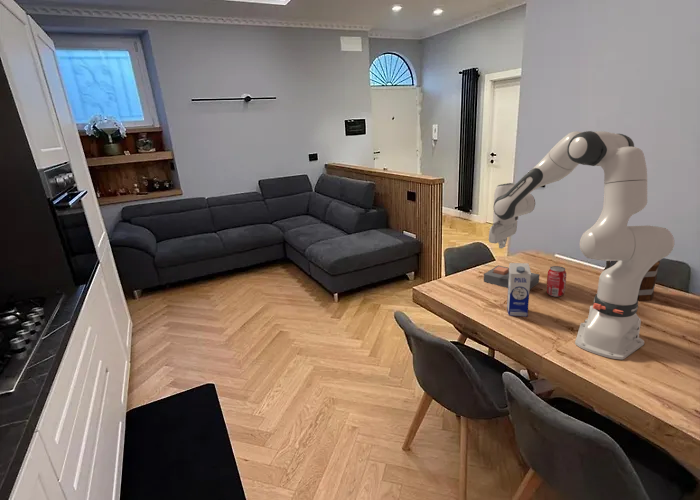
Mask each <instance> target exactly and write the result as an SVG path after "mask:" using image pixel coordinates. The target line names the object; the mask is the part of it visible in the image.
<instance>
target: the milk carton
mask: <svg viewBox="0 0 700 500" xmlns="http://www.w3.org/2000/svg"><path fill="white" fill-rule="evenodd" d="M508 265H509V266H508V268H509V281H508V288H507V300H506V310H507V313H508V316H509V317H525V318H527V317H528V315H529V314H528V312H529V302H530V301H529V300H530V290H531V289H530V277H531V273H532V271H531V267H530V265H529V263H525V262H524V263H522V262H509V264H508Z"/></svg>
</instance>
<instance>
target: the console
mask: <svg viewBox="0 0 700 500" xmlns="http://www.w3.org/2000/svg"><path fill="white" fill-rule="evenodd" d="M498 266H500V267H504V268H508V269H509V266H507V267H506V266H504V265H496V266H495V267H492V268H491V269H489V270H488V271H487V272H484V273H483V283H487V284H491V285H495V286H498V287H499V286H500V287H502V288H506V289H508V281H509V272H508V273H507V274H505V275H501V274H497V273H494V269H495V268H497V267H498ZM540 276H541V275H540V273H539V274H537V273H534V272H531V277H530V290H531V289H533V288H534V287H535V286H537V285H538V284H539V283H540Z"/></svg>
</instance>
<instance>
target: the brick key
mask: <svg viewBox="0 0 700 500" xmlns="http://www.w3.org/2000/svg"><path fill="white" fill-rule="evenodd" d="M497 266H498V265H497ZM500 266H501V265H499V266H498V267H497V268H495V267H494V268H495V269H494V273H497V274H501V275H505V274H507V273H508V272H509V269H508V268H509V267H508V268H504V267H505V266H503V267H500Z"/></svg>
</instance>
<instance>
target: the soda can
mask: <svg viewBox="0 0 700 500" xmlns="http://www.w3.org/2000/svg"><path fill="white" fill-rule="evenodd" d="M566 285H567V271H566V268H565V267H563V266H561V265H559V266H558V265H551V266H550V267H549V269H548V270H547V276H546V287H545V288H546V289H545V290H546V293H547V294H548V295H549V296H550V297H556V298H559V297H561V296H564V295H565V291H566Z"/></svg>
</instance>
